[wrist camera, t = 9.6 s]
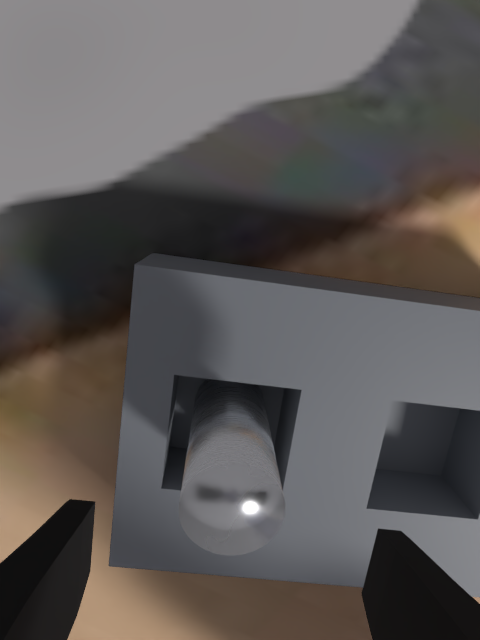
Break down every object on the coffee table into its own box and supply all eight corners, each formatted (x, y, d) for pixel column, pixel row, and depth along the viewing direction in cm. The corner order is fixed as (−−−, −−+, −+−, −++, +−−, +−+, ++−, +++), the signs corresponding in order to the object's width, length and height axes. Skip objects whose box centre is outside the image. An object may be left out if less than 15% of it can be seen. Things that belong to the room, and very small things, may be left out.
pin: (258, 438, 20) (276, 559, 13) (191, 431, 19) (173, 550, 13) (268, 375, 19) (293, 469, 12) (198, 367, 19) (184, 457, 12)
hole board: (445, 531, 22) (492, 598, 19) (129, 501, 21) (108, 566, 17) (513, 302, 20) (585, 325, 16) (152, 252, 18) (134, 264, 15)
